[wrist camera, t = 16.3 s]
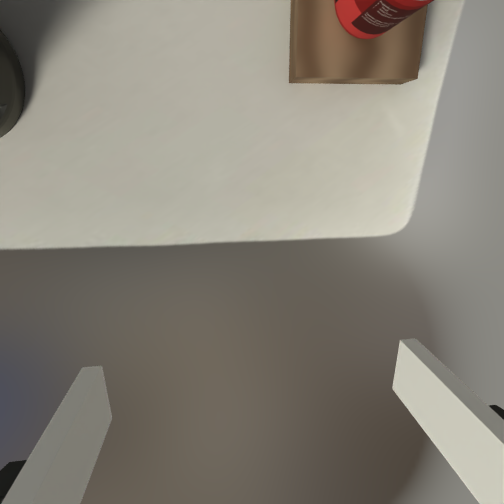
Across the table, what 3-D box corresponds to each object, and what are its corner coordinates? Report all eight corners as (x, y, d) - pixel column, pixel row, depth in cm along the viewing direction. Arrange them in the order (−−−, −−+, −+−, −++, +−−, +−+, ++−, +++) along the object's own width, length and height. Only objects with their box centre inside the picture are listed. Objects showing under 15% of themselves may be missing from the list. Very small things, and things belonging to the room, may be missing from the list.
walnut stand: (289, 82, 39) (296, 76, 36) (292, -69, 34) (300, -92, 31) (400, 84, 41) (417, 78, 38) (418, -60, 36) (439, -82, 33)
